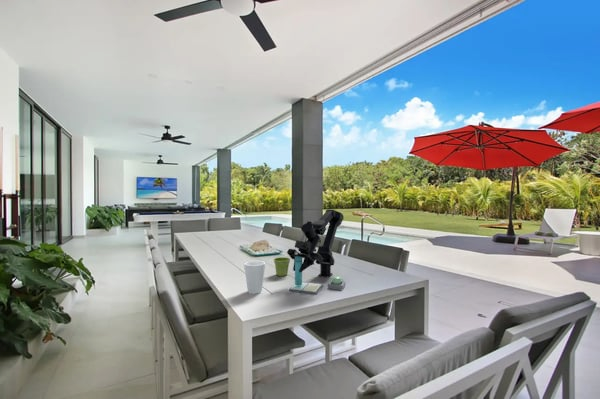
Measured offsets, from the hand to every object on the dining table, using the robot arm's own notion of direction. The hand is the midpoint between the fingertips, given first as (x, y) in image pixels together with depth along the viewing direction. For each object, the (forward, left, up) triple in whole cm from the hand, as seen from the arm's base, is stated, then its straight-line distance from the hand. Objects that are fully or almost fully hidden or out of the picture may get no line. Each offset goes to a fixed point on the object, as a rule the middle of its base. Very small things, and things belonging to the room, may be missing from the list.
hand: (296, 271), depth 133 cm
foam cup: (+9, -17, -9) cm, 21 cm away
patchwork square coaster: (-3, +4, -8) cm, 10 cm away
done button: (-10, +17, -7) cm, 21 cm away
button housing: (-10, +17, -8) cm, 21 cm away
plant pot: (-20, -16, -9) cm, 27 cm away
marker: (-1, 0, -7) cm, 7 cm away
